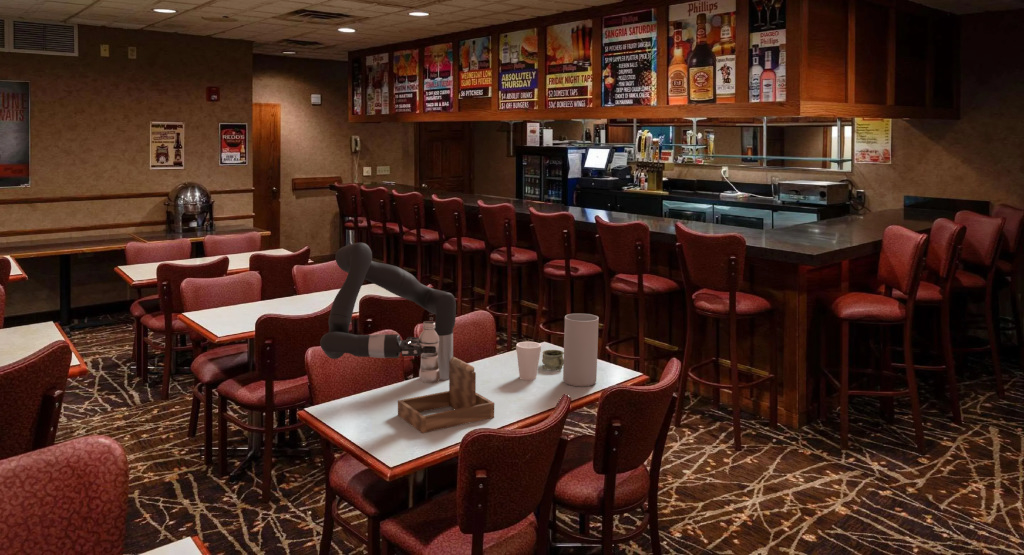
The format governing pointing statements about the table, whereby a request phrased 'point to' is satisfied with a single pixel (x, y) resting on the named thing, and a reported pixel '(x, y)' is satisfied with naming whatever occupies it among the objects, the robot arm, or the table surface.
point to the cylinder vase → (580, 349)
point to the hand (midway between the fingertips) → (436, 346)
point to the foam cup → (528, 359)
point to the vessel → (553, 359)
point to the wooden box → (449, 402)
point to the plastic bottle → (429, 354)
